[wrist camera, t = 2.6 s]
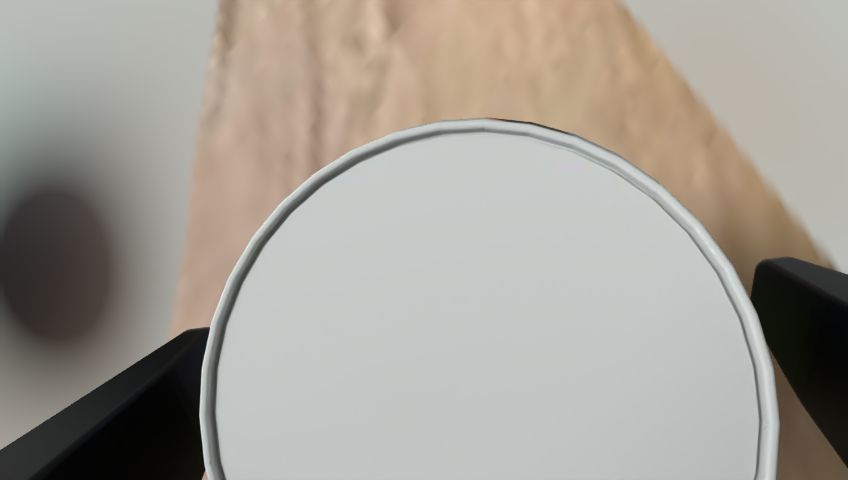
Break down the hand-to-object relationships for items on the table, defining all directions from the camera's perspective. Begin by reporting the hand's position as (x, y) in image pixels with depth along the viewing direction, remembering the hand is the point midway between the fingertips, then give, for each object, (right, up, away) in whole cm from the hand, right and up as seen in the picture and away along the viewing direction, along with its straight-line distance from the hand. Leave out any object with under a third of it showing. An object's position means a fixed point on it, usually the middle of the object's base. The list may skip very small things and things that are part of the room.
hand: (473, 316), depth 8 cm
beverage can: (+1, -3, +7) cm, 8 cm away
